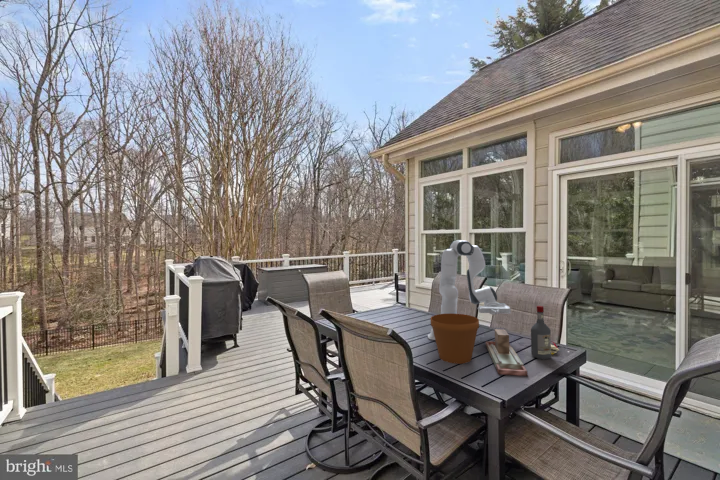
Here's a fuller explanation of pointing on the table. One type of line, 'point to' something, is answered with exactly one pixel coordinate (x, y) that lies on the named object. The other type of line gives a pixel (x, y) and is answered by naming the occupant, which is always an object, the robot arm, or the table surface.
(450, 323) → the flowerpot
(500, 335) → the walnut block
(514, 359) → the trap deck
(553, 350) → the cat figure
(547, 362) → the table surface
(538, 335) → the liquor
